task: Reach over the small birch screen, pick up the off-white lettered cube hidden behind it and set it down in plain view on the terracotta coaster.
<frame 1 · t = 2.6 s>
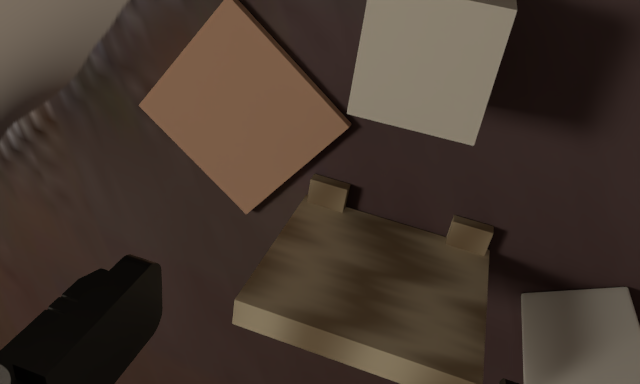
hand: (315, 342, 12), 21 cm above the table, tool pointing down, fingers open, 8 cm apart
milk: (577, 325, 34), on the table
cube: (439, 36, 28), on the table
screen: (392, 231, 35), on the table
coaster: (242, 112, 34), on the table
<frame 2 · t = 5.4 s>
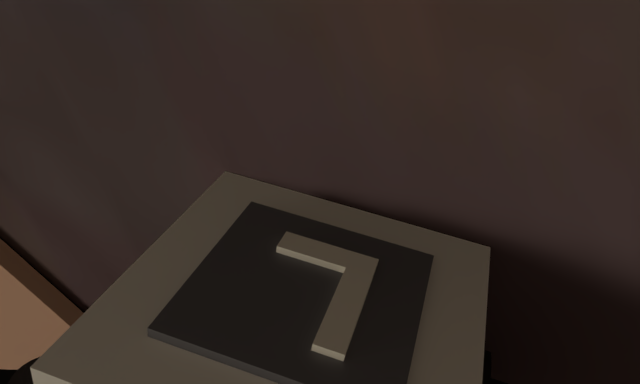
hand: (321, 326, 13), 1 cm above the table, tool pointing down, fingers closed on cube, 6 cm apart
cube: (331, 307, 13), on the table, touching gripper
coaster: (10, 360, 19), on the table
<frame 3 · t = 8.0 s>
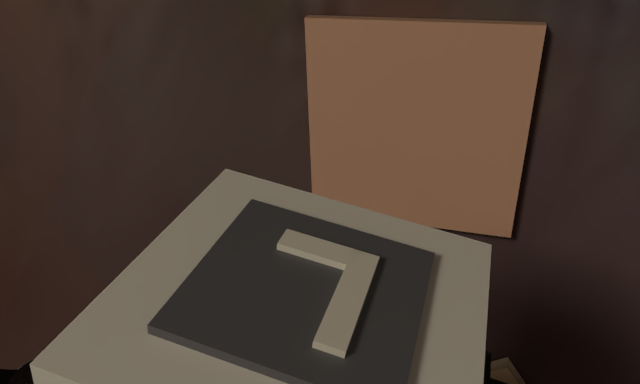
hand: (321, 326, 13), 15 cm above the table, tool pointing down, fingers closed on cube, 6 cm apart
cube: (331, 305, 13), point 14 cm above the table, touching gripper
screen: (438, 327, 31), on the table
coaster: (414, 127, 25), on the table
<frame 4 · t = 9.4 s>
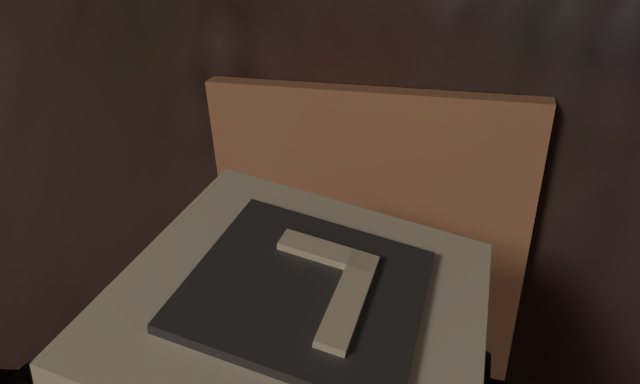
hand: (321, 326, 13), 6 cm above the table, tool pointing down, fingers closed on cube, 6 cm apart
cube: (331, 305, 13), point 5 cm above the table, touching gripper
coaster: (367, 230, 18), on the table
when the fingers open (3 cm above the table, at t = 10.6 s): cube drops 1 cm, resting on coaster.
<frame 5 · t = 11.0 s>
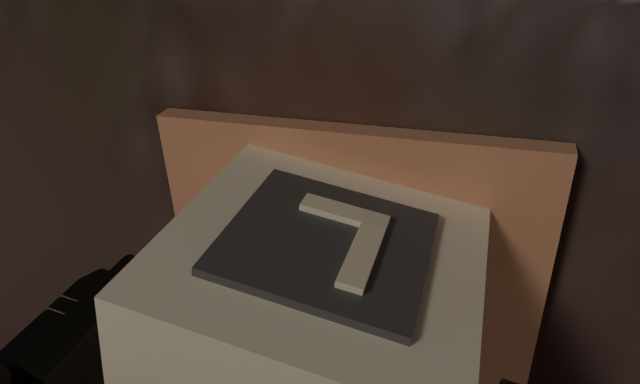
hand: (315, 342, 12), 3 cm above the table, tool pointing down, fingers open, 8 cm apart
cube: (344, 271, 15), point 1 cm above the table, touching coaster
coaster: (351, 286, 15), on the table
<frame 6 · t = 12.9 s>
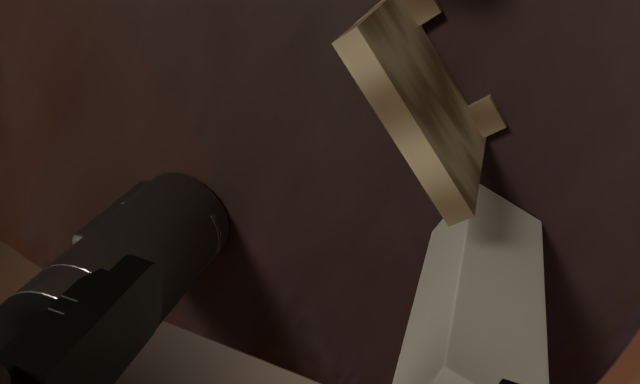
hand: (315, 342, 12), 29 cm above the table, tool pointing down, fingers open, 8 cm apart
milk: (484, 225, 42), on the table
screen: (434, 71, 38), on the table
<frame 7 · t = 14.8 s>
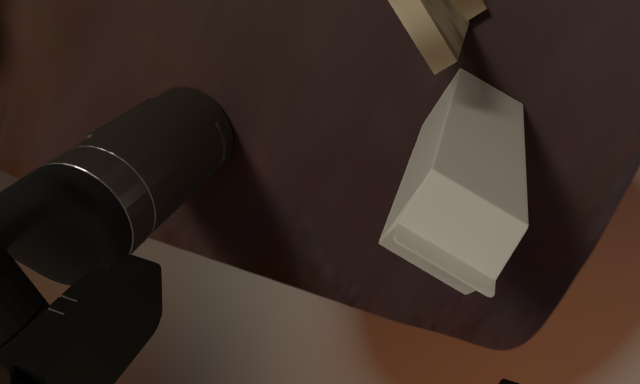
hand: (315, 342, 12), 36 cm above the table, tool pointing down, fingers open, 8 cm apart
milk: (471, 113, 46), on the table
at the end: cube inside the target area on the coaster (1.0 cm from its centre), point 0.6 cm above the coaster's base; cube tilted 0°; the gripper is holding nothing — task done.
